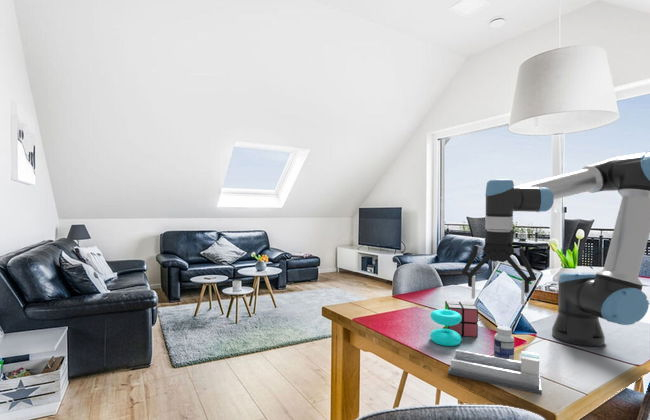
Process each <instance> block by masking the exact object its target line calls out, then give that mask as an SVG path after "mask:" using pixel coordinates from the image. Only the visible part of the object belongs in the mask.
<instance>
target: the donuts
mask: <svg viewBox="0 0 650 420" xmlns="http://www.w3.org/2000/svg"><path fill="white" fill-rule="evenodd" d="M430 318H431V321H433V322H434V323H436V324H438V325H441V326H445V325H447V326H452V325H457V324H459V323H460V322H461V320H462V317H461V315H460V314H459V313H458V312H456V311H452V310H447V309H445V308H444V309H443V308H441V309H435V310H432V312H431V313H430ZM429 336H430V340H431V341H432V342H434V343H435V344H438V345H440V346H443V347H444V346H445V347H452V346H453V347H456V346H458V345H460V344H461V342H462V336H460V335H459V334H458V333H457V332H456V331H453V330H450V329H446V328H435V329H434V330H432V331H431V332H430V335H429Z"/></svg>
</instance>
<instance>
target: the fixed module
mask: <svg viewBox="0 0 650 420" xmlns="http://www.w3.org/2000/svg"><path fill="white" fill-rule="evenodd" d="M520 352H521V353H520V361H521V372H522V373H527V374H532V375H537V376H539V372H540V355H539V353H537V352H531V351H525V350H521V351H520Z"/></svg>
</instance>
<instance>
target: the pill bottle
mask: <svg viewBox="0 0 650 420" xmlns="http://www.w3.org/2000/svg"><path fill="white" fill-rule="evenodd" d="M512 334H513V328H512V327H509V326H505V325H498V326H497V327H496V333H495V334H494V336H493V337H494V338H493V356H494V357H500V358H505V359H510V360H515V337H514V336H513V335H512Z"/></svg>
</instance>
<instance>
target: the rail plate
mask: <svg viewBox="0 0 650 420" xmlns="http://www.w3.org/2000/svg"><path fill="white" fill-rule="evenodd" d="M447 373H448V375H451V376H455V377H459V378H460V377H461V378H466V379H469V380H473V381H474V380H475V381H479V382H483V383H488V384H492V385H495V386H496V385H497V386H502V387H506V388H510V387H511V389H516V390H520V391H524V392H528V393H529V392H530V393H534V394H538V395H542V394H543V393H542V392H543V391H542V389H543V388H542V382H541V372H540V371H539V376H537V375H532V374H527V373H522V372H521V360H515V359H514V360H510V359H505V358H500V357H494V355H488V354H484V353H483V354H482V353H477V352H472V351H466V350H461V349H455V352H454V356H453V358H451V360H450V366H449V368H448V371H447Z"/></svg>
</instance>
